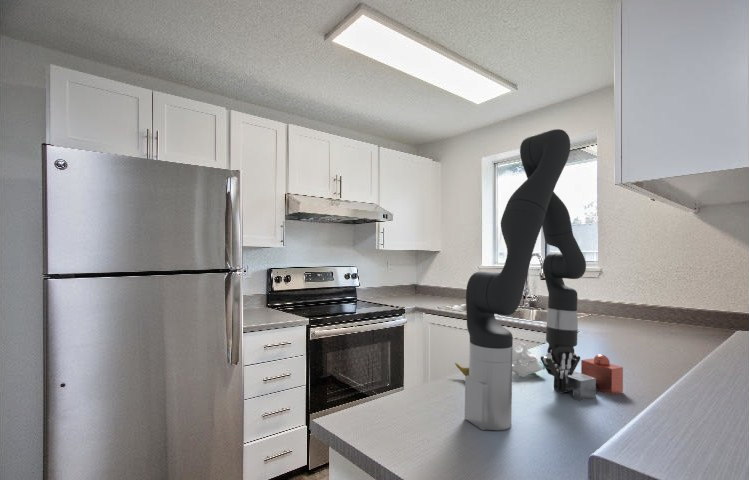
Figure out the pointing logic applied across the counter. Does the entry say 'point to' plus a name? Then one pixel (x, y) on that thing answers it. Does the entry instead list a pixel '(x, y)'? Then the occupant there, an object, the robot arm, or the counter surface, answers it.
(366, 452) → the counter surface
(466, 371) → the neti pot
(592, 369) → the red domed block
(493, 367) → the robot arm
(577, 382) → the block
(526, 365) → the jaw support
